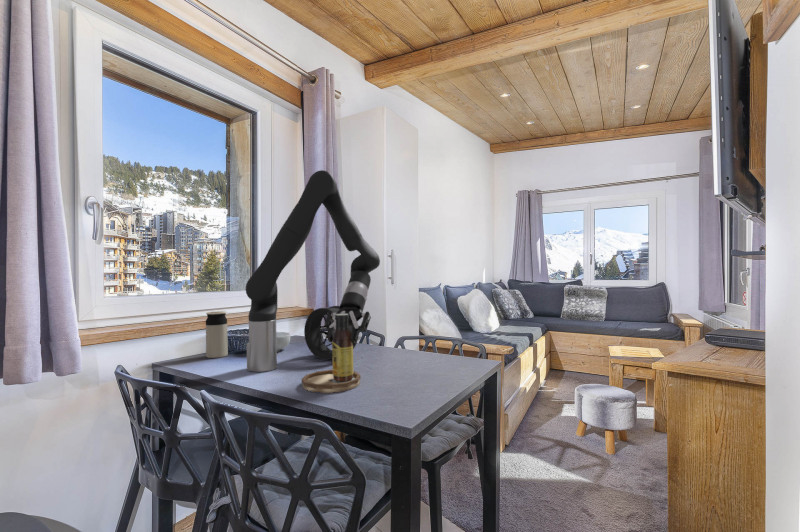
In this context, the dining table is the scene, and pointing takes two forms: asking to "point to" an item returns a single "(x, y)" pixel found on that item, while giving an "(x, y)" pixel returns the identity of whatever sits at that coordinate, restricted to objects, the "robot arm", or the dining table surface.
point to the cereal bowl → (282, 339)
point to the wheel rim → (314, 332)
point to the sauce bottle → (342, 350)
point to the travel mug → (216, 334)
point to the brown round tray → (328, 382)
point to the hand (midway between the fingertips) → (341, 341)
